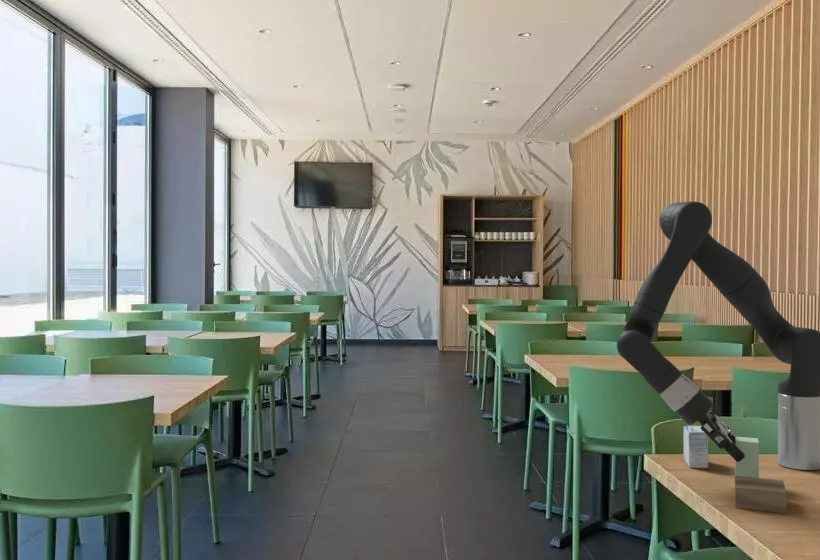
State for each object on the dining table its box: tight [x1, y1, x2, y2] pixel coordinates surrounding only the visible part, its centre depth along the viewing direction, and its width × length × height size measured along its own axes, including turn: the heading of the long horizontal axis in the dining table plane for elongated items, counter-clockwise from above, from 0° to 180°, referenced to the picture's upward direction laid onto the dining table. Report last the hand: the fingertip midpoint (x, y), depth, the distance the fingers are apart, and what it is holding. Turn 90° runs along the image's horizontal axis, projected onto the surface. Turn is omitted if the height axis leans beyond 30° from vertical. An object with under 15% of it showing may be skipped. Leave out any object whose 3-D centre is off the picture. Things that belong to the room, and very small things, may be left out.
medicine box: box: [682, 425, 709, 469], centre depth 176 cm, size 8×4×9 cm, turn 168°
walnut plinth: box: [734, 475, 787, 514], centre depth 146 cm, size 9×9×4 cm
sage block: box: [735, 436, 760, 478], centre depth 158 cm, size 4×4×10 cm
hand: (741, 454), depth 159 cm, fingers open, 8 cm apart
